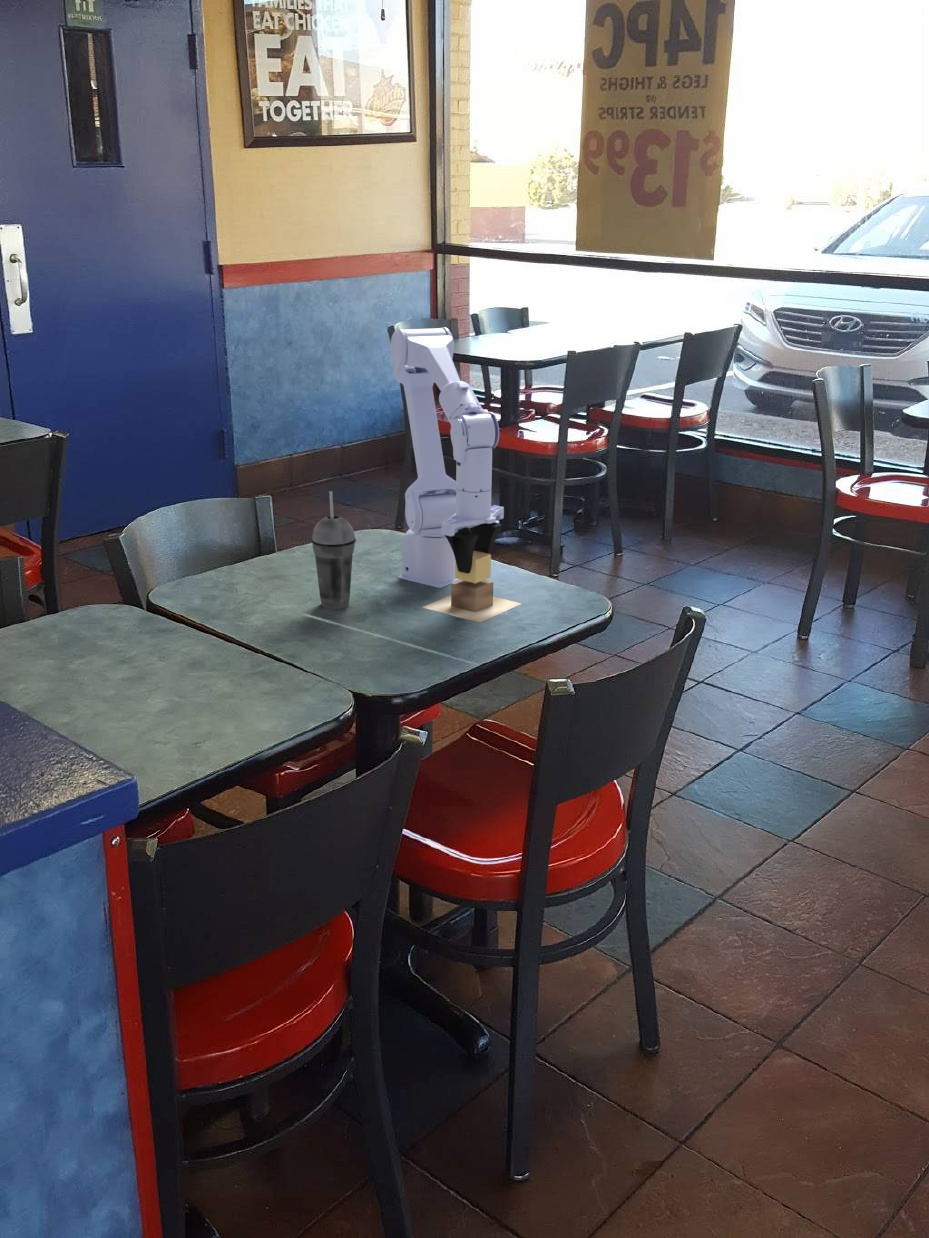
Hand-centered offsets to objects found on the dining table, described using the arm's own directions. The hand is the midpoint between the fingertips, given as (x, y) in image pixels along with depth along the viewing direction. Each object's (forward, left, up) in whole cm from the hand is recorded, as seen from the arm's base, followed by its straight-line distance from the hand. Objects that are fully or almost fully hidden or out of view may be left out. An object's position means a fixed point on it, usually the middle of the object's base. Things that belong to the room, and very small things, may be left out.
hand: (472, 568), depth 199 cm
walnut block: (0, 0, -6) cm, 6 cm away
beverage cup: (-18, -14, -7) cm, 24 cm away
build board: (0, 0, -7) cm, 7 cm away
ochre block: (0, 0, -2) cm, 2 cm away
